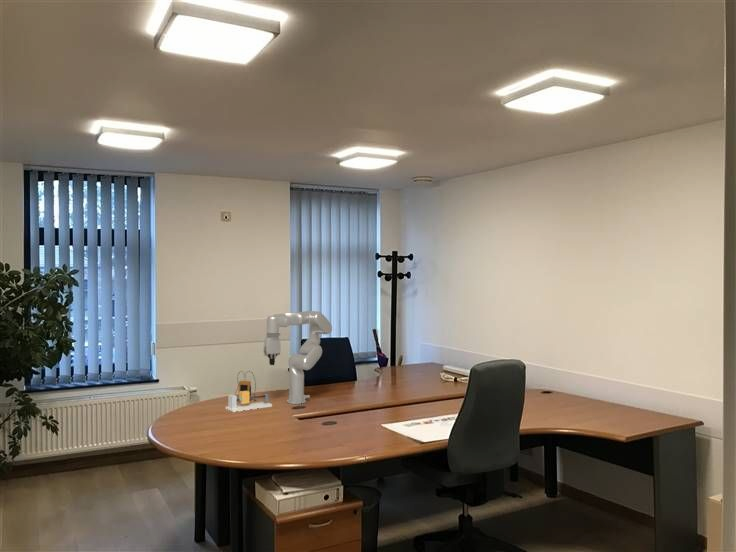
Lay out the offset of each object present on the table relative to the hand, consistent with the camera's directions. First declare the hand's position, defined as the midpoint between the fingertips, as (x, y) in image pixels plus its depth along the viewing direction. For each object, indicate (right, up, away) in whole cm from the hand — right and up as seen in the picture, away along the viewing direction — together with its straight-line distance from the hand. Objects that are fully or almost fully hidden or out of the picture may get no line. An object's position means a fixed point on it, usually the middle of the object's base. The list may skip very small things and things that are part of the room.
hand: (271, 364), depth 365 cm
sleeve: (-17, -23, -3) cm, 29 cm away
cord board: (-14, -27, -1) cm, 30 cm away
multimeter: (-21, -27, +21) cm, 40 cm away
